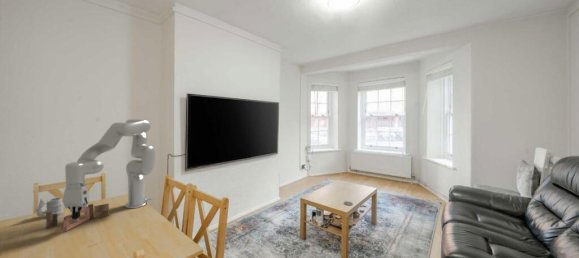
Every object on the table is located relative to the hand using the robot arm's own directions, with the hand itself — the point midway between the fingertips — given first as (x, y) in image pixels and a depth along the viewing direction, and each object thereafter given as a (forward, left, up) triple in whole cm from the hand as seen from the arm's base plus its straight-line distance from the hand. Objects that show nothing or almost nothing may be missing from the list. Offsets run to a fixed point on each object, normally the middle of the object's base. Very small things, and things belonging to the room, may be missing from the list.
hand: (76, 218), depth 122 cm
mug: (+12, -28, -6) cm, 31 cm away
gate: (0, -4, -5) cm, 7 cm away
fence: (-1, -11, -6) cm, 12 cm away
